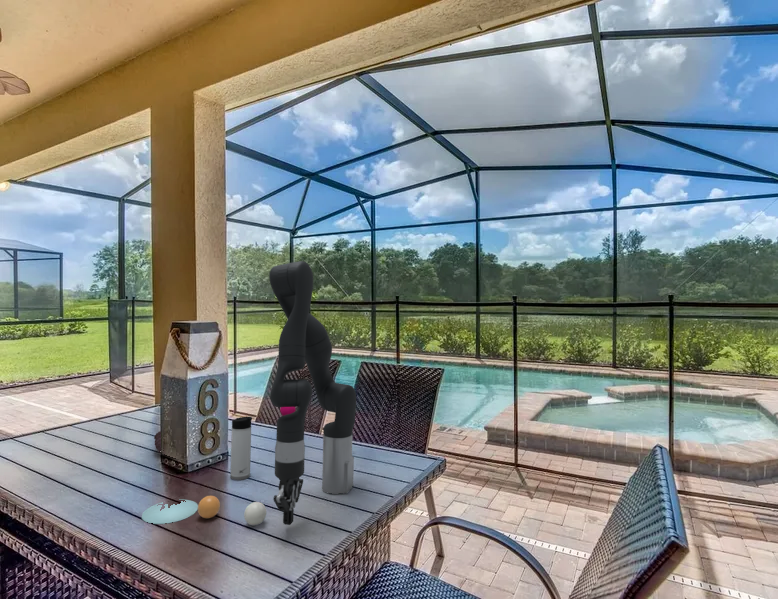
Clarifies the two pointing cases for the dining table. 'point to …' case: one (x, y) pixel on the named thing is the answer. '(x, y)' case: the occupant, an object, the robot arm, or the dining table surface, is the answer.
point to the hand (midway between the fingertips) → (288, 523)
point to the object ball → (208, 506)
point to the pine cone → (158, 441)
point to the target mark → (169, 512)
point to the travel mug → (241, 448)
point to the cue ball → (255, 513)
